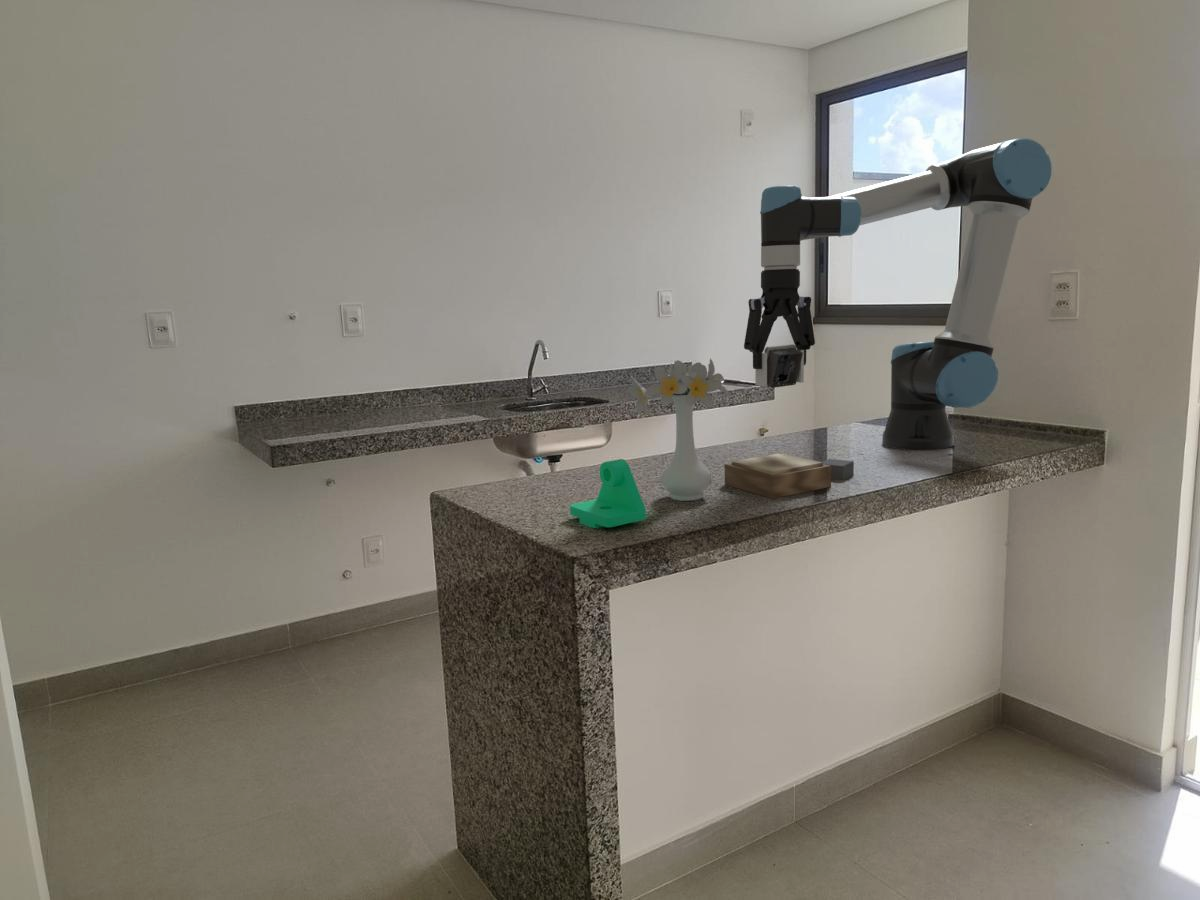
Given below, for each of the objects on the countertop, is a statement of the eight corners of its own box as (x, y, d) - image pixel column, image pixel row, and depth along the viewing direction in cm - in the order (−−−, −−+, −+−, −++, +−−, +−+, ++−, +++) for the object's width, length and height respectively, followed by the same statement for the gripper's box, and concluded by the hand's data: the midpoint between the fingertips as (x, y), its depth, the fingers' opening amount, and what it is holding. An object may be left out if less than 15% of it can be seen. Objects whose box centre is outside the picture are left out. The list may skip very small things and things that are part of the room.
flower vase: (623, 499, 159) (617, 363, 154) (705, 484, 167) (702, 355, 162) (661, 513, 147) (656, 367, 143) (747, 497, 156) (745, 358, 151)
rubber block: (829, 473, 172) (829, 458, 172) (853, 476, 169) (853, 461, 169) (818, 478, 169) (818, 463, 168) (843, 481, 166) (843, 466, 165)
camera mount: (568, 519, 147) (564, 461, 145) (605, 511, 151) (602, 454, 149) (608, 534, 137) (605, 471, 135) (646, 525, 141) (644, 464, 139)
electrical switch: (786, 383, 177) (788, 343, 175) (802, 387, 174) (806, 346, 172) (756, 387, 173) (759, 346, 171) (773, 391, 169) (776, 349, 167)
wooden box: (781, 474, 173) (781, 451, 172) (831, 486, 161) (831, 462, 160) (724, 484, 166) (724, 461, 165) (772, 498, 154) (771, 473, 153)
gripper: (810, 268, 177) (808, 378, 181) (724, 270, 167) (725, 386, 172) (835, 266, 170) (833, 381, 174) (747, 268, 161) (747, 389, 165)
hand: (779, 383), depth 173 cm, fingers closed on electrical switch, 8 cm apart
